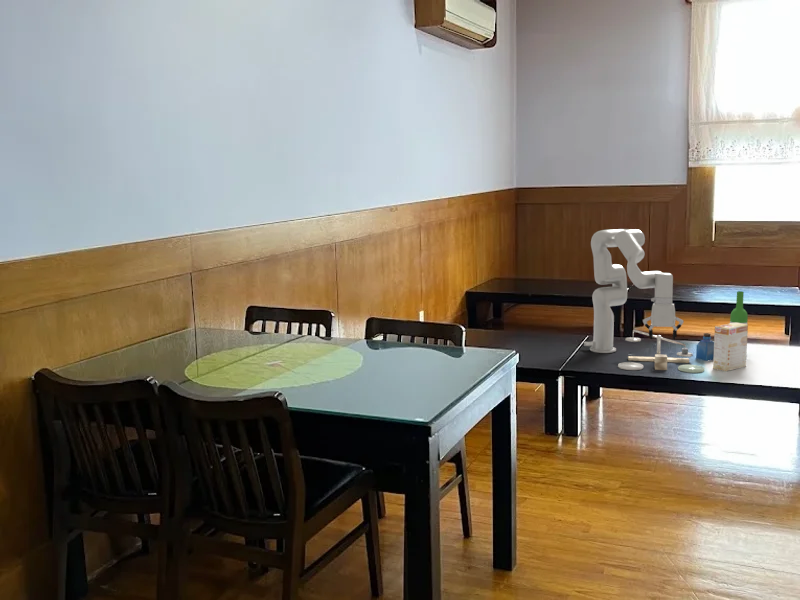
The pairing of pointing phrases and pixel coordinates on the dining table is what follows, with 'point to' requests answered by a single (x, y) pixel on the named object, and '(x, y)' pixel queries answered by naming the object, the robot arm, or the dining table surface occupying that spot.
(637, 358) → the balance scale
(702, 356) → the perfume bottle
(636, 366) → the white dish
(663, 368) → the birch block
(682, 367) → the sage dish
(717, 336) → the coffeecake box
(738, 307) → the wine bottle
